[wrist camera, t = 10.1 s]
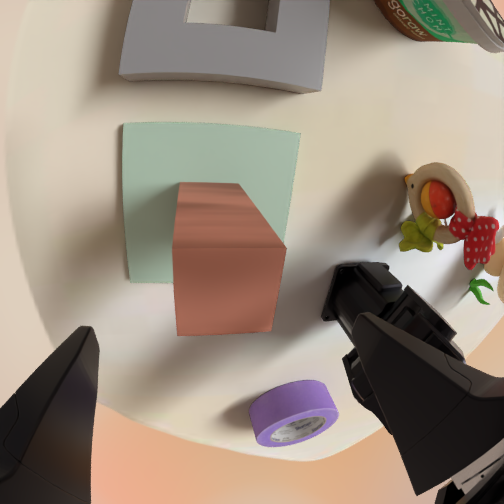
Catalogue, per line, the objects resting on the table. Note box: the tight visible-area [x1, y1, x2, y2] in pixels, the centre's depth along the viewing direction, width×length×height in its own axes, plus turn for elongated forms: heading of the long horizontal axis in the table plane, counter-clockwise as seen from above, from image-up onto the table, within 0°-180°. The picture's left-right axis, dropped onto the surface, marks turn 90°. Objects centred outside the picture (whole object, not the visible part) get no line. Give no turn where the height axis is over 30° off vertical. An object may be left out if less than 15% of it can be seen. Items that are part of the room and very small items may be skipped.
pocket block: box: [119, 0, 330, 94], centre depth 11 cm, size 12×12×3 cm
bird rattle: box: [399, 162, 499, 270], centre depth 19 cm, size 6×11×9 cm
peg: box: [172, 182, 287, 336], centre depth 15 cm, size 4×4×10 cm
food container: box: [374, 0, 504, 53], centre depth 10 cm, size 12×6×10 cm, turn 71°
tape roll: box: [249, 380, 339, 447], centre depth 33 cm, size 12×12×5 cm
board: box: [122, 122, 301, 283], centre depth 19 cm, size 12×12×1 cm
